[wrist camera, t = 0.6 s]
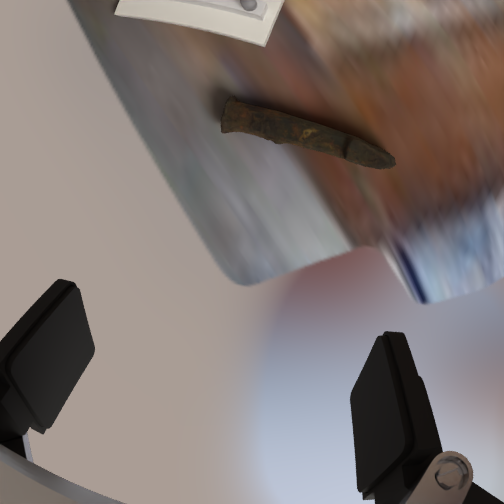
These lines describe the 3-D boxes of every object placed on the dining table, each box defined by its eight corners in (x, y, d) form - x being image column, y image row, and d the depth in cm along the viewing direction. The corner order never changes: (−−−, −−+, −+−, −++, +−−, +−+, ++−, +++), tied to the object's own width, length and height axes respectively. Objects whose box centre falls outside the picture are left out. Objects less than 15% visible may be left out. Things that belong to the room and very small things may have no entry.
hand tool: (222, 128, 34) (213, 133, 30) (232, 95, 32) (224, 95, 28) (381, 181, 35) (392, 193, 31) (393, 149, 33) (406, 158, 29)
